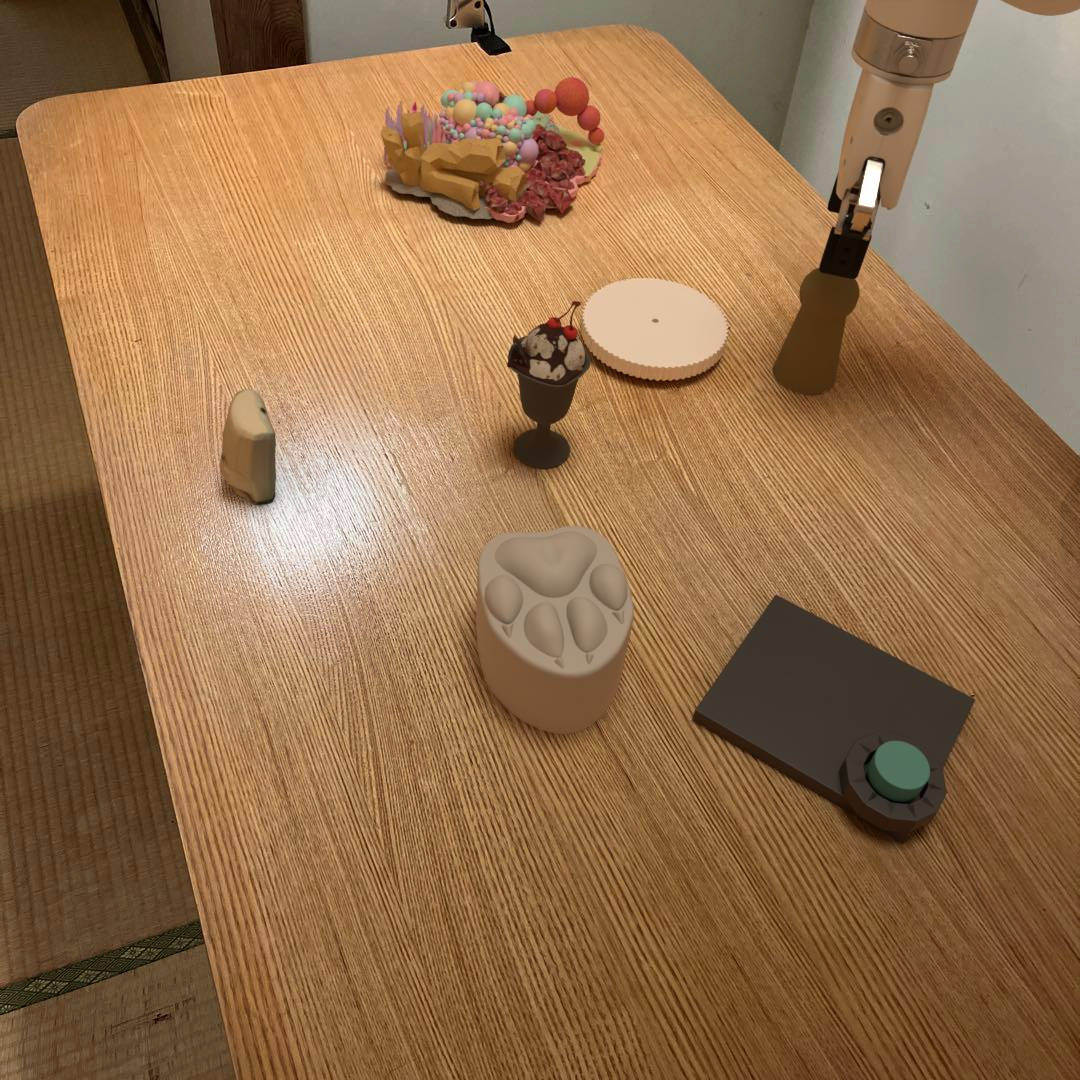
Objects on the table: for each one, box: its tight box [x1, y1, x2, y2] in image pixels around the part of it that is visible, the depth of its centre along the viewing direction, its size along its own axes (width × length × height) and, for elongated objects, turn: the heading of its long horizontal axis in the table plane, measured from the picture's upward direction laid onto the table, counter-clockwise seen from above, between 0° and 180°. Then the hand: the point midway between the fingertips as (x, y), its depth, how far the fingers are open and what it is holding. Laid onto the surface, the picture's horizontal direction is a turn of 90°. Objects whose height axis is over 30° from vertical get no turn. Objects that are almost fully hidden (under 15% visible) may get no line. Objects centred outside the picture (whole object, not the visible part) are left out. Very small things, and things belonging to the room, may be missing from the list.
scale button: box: [867, 741, 930, 802], centre depth 70 cm, size 4×4×2 cm
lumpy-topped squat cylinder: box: [475, 525, 635, 735], centre depth 76 cm, size 10×13×9 cm
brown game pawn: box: [772, 267, 860, 396], centre depth 99 cm, size 6×6×11 cm
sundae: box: [506, 300, 592, 469], centre depth 88 cm, size 7×7×15 cm
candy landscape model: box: [380, 76, 605, 224], centre depth 121 cm, size 25×24×9 cm
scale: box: [691, 594, 976, 845], centre depth 76 cm, size 17×14×3 cm
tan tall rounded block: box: [219, 388, 277, 506], centre depth 86 cm, size 6×5×8 cm
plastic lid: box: [580, 277, 729, 382], centre depth 104 cm, size 14×14×2 cm
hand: (841, 242), depth 92 cm, fingers open, 9 cm apart
